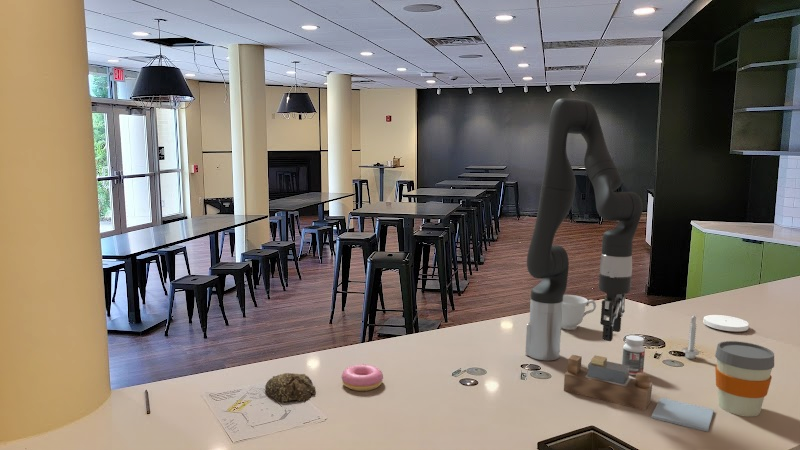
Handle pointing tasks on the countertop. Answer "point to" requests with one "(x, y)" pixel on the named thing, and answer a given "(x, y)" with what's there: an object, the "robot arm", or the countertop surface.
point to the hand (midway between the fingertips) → (611, 335)
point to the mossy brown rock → (290, 387)
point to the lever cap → (608, 370)
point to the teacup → (574, 311)
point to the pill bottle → (634, 354)
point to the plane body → (608, 386)
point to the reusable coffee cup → (743, 376)
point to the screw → (691, 341)
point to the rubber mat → (683, 414)
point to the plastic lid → (726, 323)
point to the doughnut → (362, 377)
